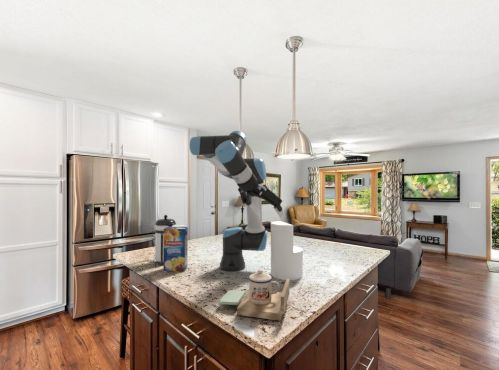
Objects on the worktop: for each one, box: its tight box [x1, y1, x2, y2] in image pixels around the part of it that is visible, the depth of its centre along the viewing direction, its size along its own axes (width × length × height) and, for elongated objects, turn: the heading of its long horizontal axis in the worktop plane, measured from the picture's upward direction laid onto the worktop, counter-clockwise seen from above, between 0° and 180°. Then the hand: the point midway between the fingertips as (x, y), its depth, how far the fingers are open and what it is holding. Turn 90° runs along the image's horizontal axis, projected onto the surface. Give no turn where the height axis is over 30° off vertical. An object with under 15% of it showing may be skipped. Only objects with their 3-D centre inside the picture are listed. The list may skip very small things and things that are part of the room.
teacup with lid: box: [248, 269, 280, 305], centre depth 98 cm, size 12×9×12 cm
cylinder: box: [270, 220, 304, 281], centre depth 137 cm, size 17×17×28 cm
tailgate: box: [218, 289, 247, 306], centre depth 101 cm, size 2×11×8 cm
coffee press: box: [152, 214, 177, 266], centre depth 159 cm, size 17×16×30 cm
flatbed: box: [236, 279, 290, 322], centre depth 97 cm, size 17×18×9 cm
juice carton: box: [162, 226, 189, 272], centre depth 144 cm, size 12×8×24 cm, turn 92°
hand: (269, 214), depth 106 cm, fingers open, 13 cm apart
